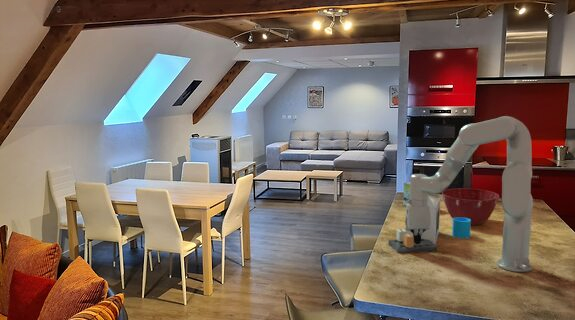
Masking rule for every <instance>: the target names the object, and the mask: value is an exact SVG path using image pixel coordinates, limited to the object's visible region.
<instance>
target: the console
mask: <svg viewBox="0 0 575 320" xmlns="http://www.w3.org/2000/svg"><path fill="white" fill-rule="evenodd" d="M388 245H389V246H390V247H391V248H392V249H393V250H394V249H395V250H396V251H395V250H394V251H395V252H396V253H397V254H399V253H401V254H402V253H419V252H422V253H423V252H437V251H439V249H438V247H439V246H438V245H437V244H436V243H435V244H434V243H432V242H431V241H430V240H426V239H421V242H420V244H415V243H414V242H413V247H406V246H405V245H404V244H403V241H401V242H399V241H398V240H397V239H396V238H394V239H388Z"/></svg>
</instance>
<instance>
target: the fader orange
mask: <svg viewBox="0 0 575 320" xmlns="http://www.w3.org/2000/svg"><path fill="white" fill-rule="evenodd" d="M413 242H414V237H413V236H412V235H411V234H404V241H403V244H404V245H405V246H406V247H413Z"/></svg>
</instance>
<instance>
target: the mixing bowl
mask: <svg viewBox="0 0 575 320" xmlns="http://www.w3.org/2000/svg"><path fill="white" fill-rule="evenodd" d="M441 194H442V197H443V201H444V205H445V207H446V210H447V212H448V214H449V216H450V217H451V218H452V219H453V218H456V217H463V218H468V219H470V220H471V226H475V225H476V226H477V225H482V223H485V222H486V221H488V220H489V218H490V217H491V215H492V214H493V212H494V210H495V208H496V205H497V203H498V200H499V198H500V195H499V194H498V193H496V192H495V191H494V192H493V191H491V190H490V191H489V190H485V189H479V188H469V187H468V188H463V187H462V188H461V187H460V188H459V187H458V188H450V189H449V188H447V189H445V190H444V191H442V192H441Z"/></svg>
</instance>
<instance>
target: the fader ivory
mask: <svg viewBox="0 0 575 320" xmlns="http://www.w3.org/2000/svg"><path fill="white" fill-rule="evenodd" d="M395 231H396V232H395V233H396V235H395V236H396V237H395V240H398V241H399V242H401V241H404V234H406V230H405V229H402V228H397V229H396V230H395Z"/></svg>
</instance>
